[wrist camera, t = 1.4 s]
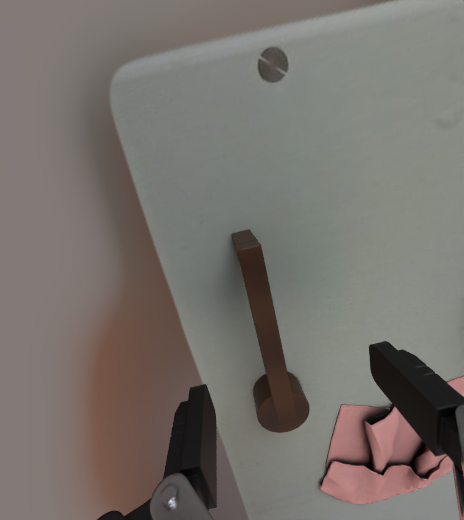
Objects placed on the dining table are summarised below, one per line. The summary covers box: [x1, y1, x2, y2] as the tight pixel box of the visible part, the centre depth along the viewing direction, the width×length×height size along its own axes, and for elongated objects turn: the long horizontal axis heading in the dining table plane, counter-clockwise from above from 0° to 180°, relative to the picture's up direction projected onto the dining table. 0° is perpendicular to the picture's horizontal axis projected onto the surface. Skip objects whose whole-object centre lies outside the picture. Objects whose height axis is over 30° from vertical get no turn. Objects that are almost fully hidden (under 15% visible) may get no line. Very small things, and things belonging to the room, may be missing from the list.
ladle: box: [232, 230, 309, 433], centre depth 22 cm, size 21×5×6 cm, turn 13°
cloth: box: [319, 376, 464, 504], centre depth 29 cm, size 20×22×2 cm
